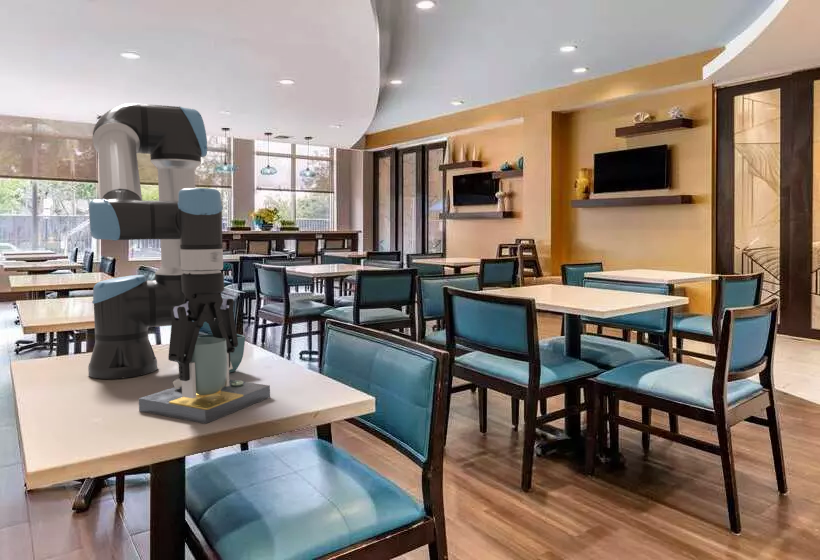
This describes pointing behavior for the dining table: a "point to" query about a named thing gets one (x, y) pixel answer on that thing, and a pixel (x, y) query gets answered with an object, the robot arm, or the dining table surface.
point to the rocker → (177, 383)
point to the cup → (210, 364)
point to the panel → (204, 402)
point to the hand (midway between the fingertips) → (206, 390)
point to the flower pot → (238, 352)
